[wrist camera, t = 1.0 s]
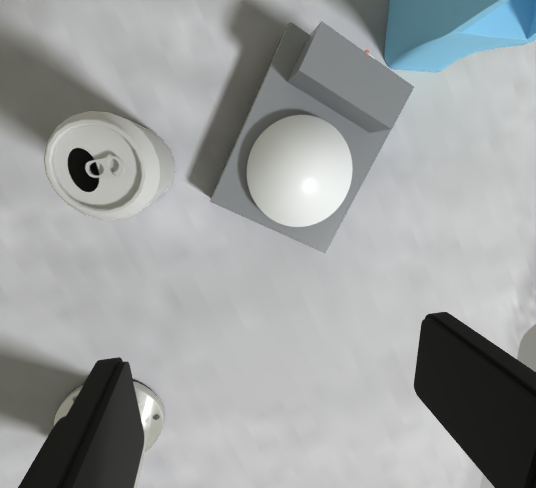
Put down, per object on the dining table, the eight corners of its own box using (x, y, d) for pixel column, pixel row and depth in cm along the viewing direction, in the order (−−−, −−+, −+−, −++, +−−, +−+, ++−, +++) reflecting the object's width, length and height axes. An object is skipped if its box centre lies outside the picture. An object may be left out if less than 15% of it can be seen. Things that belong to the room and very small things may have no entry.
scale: (316, 246, 37) (339, 265, 30) (210, 198, 33) (210, 207, 26) (389, 105, 34) (433, 93, 27) (282, 34, 30) (303, -1, 23)
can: (89, 130, 29) (11, 112, 18) (167, 122, 30) (141, 100, 19) (109, 206, 31) (52, 232, 20) (182, 196, 32) (167, 216, 21)
